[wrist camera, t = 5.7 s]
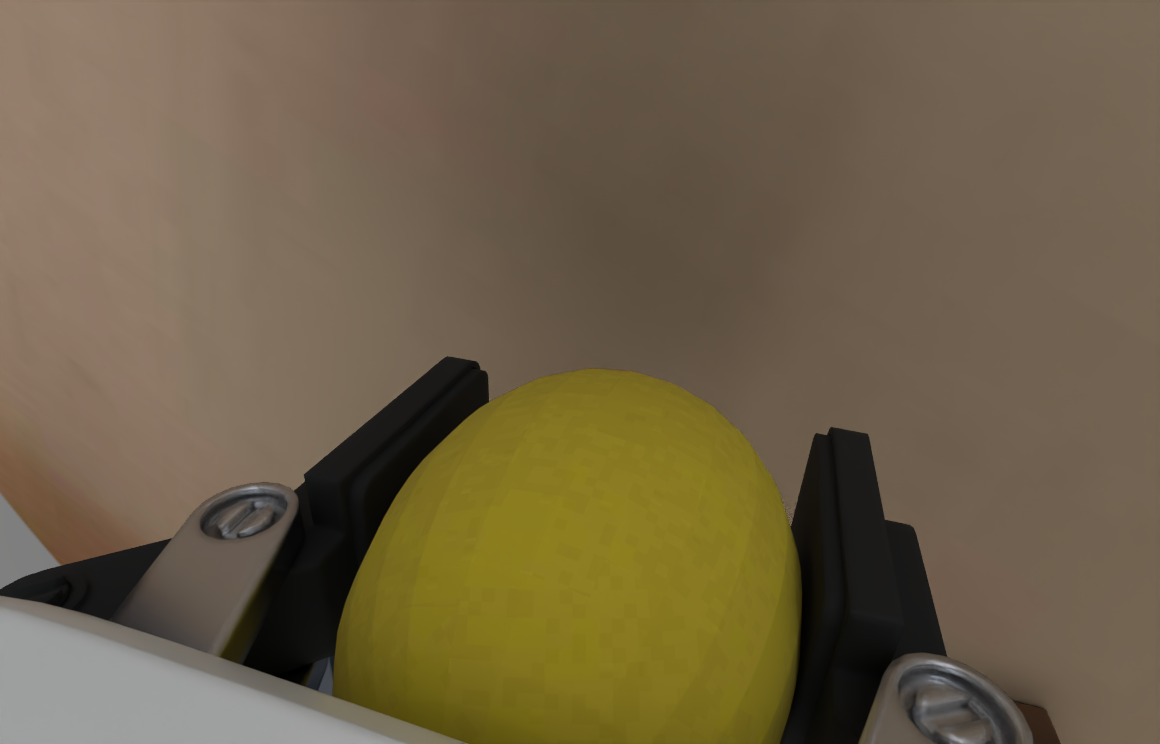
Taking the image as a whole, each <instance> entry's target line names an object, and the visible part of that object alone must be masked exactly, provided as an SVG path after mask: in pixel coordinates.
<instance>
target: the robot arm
mask: <svg viewBox="0 0 1160 744" xmlns="http://www.w3.org/2000/svg"><path fill="white" fill-rule="evenodd" d="M487 403H489V390H488V375H487V373H486V371H483V370H480V366H479V364H478V363H477V362H476V361H471V360H465V359H460V358H454V357H448V356H447V357H445V358H444V359H442V360H441V361H440V362H439V363H438V364H436V365H435V366H434V367H433V368H432V369H430V370H429V371H428V372H427V373H426V374H424V375H423V376H422V377H421V378H420V379H418V380H417V381H416V382H415V383H414V384H412V385H411V386H410V387H409V388H408V389H406V390H405V391H404V392H403V393H401V394H400V395H399V396H398V397H397V398H395V399H394V400H393V401H392V402H391V403H389V404H388V405H387V406H386V407H385V408H383V409H382V410H381V411H380V412H379V413H377V414H376V415H375V416H374V417H373V418H371V419H370V420H369V421H368V422H367V423H365V424H364V425H363V426H362V427H361V428H359V429H358V430H357V431H356V432H355V433H353V434H352V435H351V436H350V437H349V438H347V439H346V440H345V441H344V442H342V443H341V444H340V445H339V446H338V447H336V448H335V449H334V450H333V451H332V452H330V453H329V454H328V455H327V456H326V457H324V458H323V459H322V460H321V461H320V462H318V463H317V464H316V465H315V466H314V467H312V468H311V469H310V470H309V471H308V472H306V473H305V474H304V478H305V482H304V483H303V484H302V485H301V486H299V487H298V488H297V489H296V490H295V491H293V490H292V489H291V488H289V487H286V486H284V485H281V484H277V483H269V482H260V483H249V484H244V485H240V486H236V487H232V488H230V489H227V490H225V491H222V492H220V493H218V494H216V495H214V496H212V497H211V498H209V499H208V500H206V501H204V502H203V503H202V504H201V505H200V506H199V507H198V508H197V509H196V510H195V511H194V512H193V513H192V514H191V515H190V516H189V518H188V519H187V520H186V522H185V523H184V524H183V525H182V527H181V528H180V529H179V531H178V532H177V533H176V534H175V536H174V537H173V538H171V539H167V540H163V541H159V542H155V543H151V544H147V545H143V546H139V547H135V548H131V549H127V550H123V551H119V552H115V553H111V554H107V555H103V556H99V557H95V558H91V559H87V560H83V561H79V562H75V563H70V564H66V565H62V566H58V567H55V568H50V569H47V570H43V571H40V572H37V573H35V574H31V575H28V576H25V577H23V578H20V579H18V580H16V581H14V582H13V583H11V584H9V585H7V586H5V587H3V588H2V589H0V744H468V743H465V742H462V741H459V740H456V739H454V738H451V737H448V736H445V735H442V734H439V733H437V732H434V731H431V730H428V729H425V728H422V727H419V726H416V725H414V724H411V723H408V722H405V721H402V720H399V719H396V718H394V717H391V716H388V715H385V714H382V713H379V712H376V711H373V710H371V709H368V708H365V707H362V706H359V705H356V704H353V703H350V702H348V701H345V700H342V699H339V698H336V697H333V696H330V695H328V694H325V693H322V692H319V691H318V690H319V687H320V685H321V682H322V679H323V676H324V674H325V671H326V668H327V664H328V659H329V657H331V656H334V655H335V649H336V640H337V631H338V627H339V624H340V620H341V616H342V613H343V609H344V605H345V602H346V599H347V596H348V594H349V591H350V589H351V586H352V584H353V581H354V579H355V576H356V574H357V572H358V570H359V568H360V566H361V564H362V562H363V559H364V557H365V555H366V553H367V551H368V549H369V547H370V545H371V543H372V541H373V539H374V537H375V535H376V533H377V530H378V528H379V526H380V524H381V522H382V520H383V518H384V516H385V515H386V513H387V511H388V509H389V508H390V506H391V504H392V502H393V501H394V499H395V497H396V495H397V494H398V492H399V491H400V490H401V488H402V487H403V485H404V484H405V482H406V481H407V479H408V478H409V476H410V475H411V474H412V473H413V471H414V470H415V469H416V468H417V467H418V465H419V464H420V463H421V462H422V461H423V459H424V458H425V457H426V456H427V455H428V454H429V453H430V452H431V451H433V450H434V449H435V448H436V447H437V446H438V445H439V444H440V443H441V442H442V441H443V440H444V439H445V438H446V437H447V436H448V435H449V434H450V433H451V432H452V431H453V430H455V429H456V428H457V427H458V426H459V425H460V424H461V423H462V422H463V421H464V420H465V419H466V418H467V417H469V416H470V415H471V414H473V413H474V412H475V411H476V410H478V409H479V408H480V407H482V406H484V405H485V404H487ZM791 530H792V533H793V537H794V540H795V543H796V547H797V550H798V556H799V562H800V568H801V579H802V620H801V643H800V661H799V668H798V675H797V681H796V687H795V692H794V696H793V700H792V704H791V708H790V712H789V716H788V719H787V722H786V725H785V728H784V731H783V735H782V738H781V741H780V744H1033V737H1032V732H1031V730H1030V728H1029V726H1028V724H1027V722H1026V720H1025V717H1024V715H1023V713H1022V712H1021V711H1020V709H1019V708H1018V707H1017V706H1016V705H1015V703H1014V702H1013V701H1012V700H1011V698H1010V697H1009V696H1008V695H1007V694H1006V693H1005V692H1004V691H1003V690H1002V689H1001V688H999V687H998V686H997V685H996V684H995V683H993V682H992V681H991V680H990V679H989V678H988V677H986V676H984V675H983V674H981V673H979V672H978V671H976V670H974V669H973V668H971V667H969V666H968V665H966V664H964V663H961V662H958V661H956V660H953V659H951V658H948V657H947V655H946V651H945V647H944V643H943V639H942V635H941V631H940V627H939V623H938V619H937V615H936V611H935V607H934V603H933V599H932V595H931V591H930V587H929V583H928V579H927V575H926V571H925V567H924V563H923V559H922V556H921V552H920V548H919V544H918V540H917V536H916V533H915V530H914V528H913V527H912V526H910V525H907V524H903V523H898V522H893V521H889V520H885V518H884V513H883V508H882V503H881V498H880V492H879V487H878V482H877V477H876V471H875V466H874V461H873V456H872V451H871V445H870V440H869V436H868V434H866V433H860V432H855V431H850V430H844V429H839V428H833V427H831V428H830V429H829V432H828V434H827V435H823V434H818V433H816V434H815V436H814V438H813V442H812V446H811V450H810V454H809V458H808V462H807V466H806V470H805V474H804V478H803V481H802V485H801V489H800V493H799V497H798V501H797V505H796V509H795V513H794V517H793V521H792V525H791Z"/></svg>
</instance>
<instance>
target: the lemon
mask: <svg viewBox="0 0 1160 744" xmlns="http://www.w3.org/2000/svg"><path fill="white" fill-rule="evenodd" d="M801 620H802V579H801V568H800V562H799V556H798V550H797V547H796V543H795V540H794V537H793V533H792V530H791V527H790V524H789V521H788V517H787V514H786V511H785V508H784V505H783V502H782V499H781V495H780V492H779V490H778V488H777V486H776V484H775V482H774V479H773V478H772V476H771V475H770V473H769V472H768V470H767V469H766V467H765V466H764V464H763V463H762V461H761V459H760V458H759V456H758V455H757V453H756V452H755V450H754V449H753V447H752V446H751V444H750V443H749V441H748V440H747V439H746V438H745V436H744V435H743V434H742V433H741V432H740V431H739V430H738V429H737V428H736V427H735V426H734V425H732V424H731V423H730V422H729V421H728V420H727V419H726V418H725V417H724V416H723V415H722V414H721V413H719V412H718V411H717V410H716V409H715V408H714V407H713V406H712V405H710V404H709V403H707V402H705V401H703V400H701V399H700V398H698V397H696V396H694V395H693V394H691V393H689V392H687V391H686V390H684V389H682V388H680V387H678V386H677V385H675V384H673V383H669V382H666V381H663V380H660V379H656V378H653V377H650V376H647V375H643V374H640V373H637V372H633V371H623V370H609V369H596V368H589V369H583V370H578V371H572V372H567V373H561V374H555V375H550V376H544V377H541V378H538V379H536V380H533V381H531V382H529V383H527V384H525V385H522V386H520V387H518V388H516V389H514V390H512V391H510V392H508V393H506V394H504V395H502V396H500V397H498V398H496V399H494V400H492V401H490V402H489V403H487V404H485V405H484V406H482V407H480V408H479V409H478V410H476V411H475V412H474V413H473V414H471V415H470V416H469V417H467V418H466V419H465V420H464V421H463V422H462V423H461V424H460V425H459V426H458V427H457V428H456V429H455V430H453V431H452V432H451V433H450V434H449V435H448V436H447V437H446V438H445V439H444V440H443V441H442V442H441V443H440V444H439V445H438V446H437V447H436V448H435V449H434V450H433V451H431V452H430V453H429V454H428V455H427V456H426V457H425V458H424V459H423V461H422V462H421V463H420V464H419V465H418V467H417V468H416V469H415V470H414V471H413V473H412V474H411V475H410V476H409V478H408V479H407V481H406V482H405V484H404V485H403V487H402V488H401V490H400V491H399V492H398V494H397V495H396V497H395V499H394V501H393V502H392V504H391V506H390V508H389V509H388V511H387V513H386V515H385V516H384V518H383V520H382V522H381V524H380V526H379V528H378V530H377V533H376V535H375V537H374V539H373V541H372V543H371V545H370V547H369V549H368V551H367V553H366V555H365V557H364V559H363V562H362V564H361V566H360V568H359V570H358V572H357V574H356V576H355V579H354V581H353V584H352V586H351V589H350V591H349V594H348V596H347V599H346V602H345V605H344V609H343V613H342V616H341V620H340V624H339V627H338V631H337V640H336V649H335V659H334V671H333V687H332V696H333V697H336V698H339V699H342V700H345V701H348V702H350V703H353V704H356V705H359V706H362V707H365V708H368V709H371V710H373V711H376V712H379V713H382V714H385V715H388V716H391V717H394V718H396V719H399V720H402V721H405V722H408V723H411V724H414V725H416V726H419V727H422V728H425V729H428V730H431V731H434V732H437V733H439V734H442V735H445V736H448V737H451V738H454V739H456V740H459V741H462V742H465V743H468V744H780V741H781V738H782V735H783V731H784V728H785V725H786V722H787V719H788V716H789V712H790V708H791V704H792V700H793V696H794V692H795V687H796V681H797V675H798V668H799V661H800V643H801Z"/></svg>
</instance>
